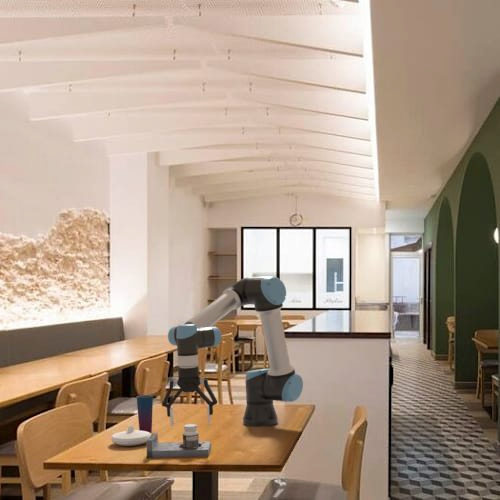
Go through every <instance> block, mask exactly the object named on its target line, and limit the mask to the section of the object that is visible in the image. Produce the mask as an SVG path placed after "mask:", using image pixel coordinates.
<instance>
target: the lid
mask: <svg viewBox="0 0 500 500" xmlns="http://www.w3.org/2000/svg"><path fill="white" fill-rule="evenodd" d="M151 434H152V433H149V432H147V431H140V430H138V429H135V425H132V424H131V425H128V427H127V430H124V431H120V432H116V433H113V434H112V435H111V437H110V440H111V442H112V443H114V444H116V445H118V446H123V447H124V446H125V447H132V446H139V445H143V444H146V441H147V440H148V438H149V437H150V436H151Z"/></svg>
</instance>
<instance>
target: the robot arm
mask: <svg viewBox="0 0 500 500" xmlns="http://www.w3.org/2000/svg"><path fill="white" fill-rule="evenodd" d="M286 296H287V289H286V286H285V283H284V281H282V280H281V278H278V277H277V276H270V275H266V276H265V275H263V276H249V277H244V278H241V279H239V280H238V281H236V282H235V283H232V284H231V285H230V286H228V287H227V288H225V289H224V290H223V291H222V293H221V295H220V296H218V297H217V298H216V299H215V300H213V301H212V302H211V303H210V304H208V305H207V306H206V307H205V308H203V309H202V310H200V311H199V312H198V313H196V314H195V315H193V317H191V318H190V319H189V320H187V321H186V322H185V323H182V324H179V325H176V326H173V327H171V328H170V329H169V330H168V333H167V339H168V341H169V343H170V344H171V346H176V349H177V367H178V368H177V373H178V374H177V376H178V380H173V379H171V380H170V381H169V387H168V390H167V392H166V394H165V396H164V399H163V401H162V403H161V406H162V407H164V408H166V414H167V417H169V419H170V421H169V422H170V427H174V424H175V423H174V406H172V405H173V404H174V402H175V401H176V400H177V399H178V397H179V396H180V395H181V394H182V392H183V393H185V394H186V393H187V394H188V393H195V392H196V393H197V395H199V397H201V399H203V401H204V402H205V403H206V404H207V405H206V406H207V407H206V411H207V412H206V414H207V416H206V417H207V425H208V426H210V425H211V416H213V414H214V408H213V407H214V406H215V405H217V404H218V400H217V397H216V396H215V394H214V393H213V390H212V388H211V387H210V385H209V381H208V380H209V379H207V378H204V379H200V373H199V372H200V371H199V349H205V348H213V347H217V346H218V345H220V344H221V342H222V332H221V330H220V328H218V327H217V326H214V325H215V324H216V323H218V322H219V321H220V320H222V318H224V317H226V316H227V315H228V314H229V313H230V312H232V311H233V310H238V309H239V308H241V307H243V306H247V305H254V309H255V312H256V313H258V314H259V315H260V316H259V318H260V322H261V327H262V332H263V339H264V342H265V348H266V353H267V358H268V364H269V368H262V369H254V370H249V371H247V372H246V374H245V381H244V382H245V397H246V399H245V400H246V401H245V402H246V407H245V410H244V412H243V416H242V424H243V425H245V426H249V427H250V426H251V427H267V426H273V425H276V424H278V423H279V417H278V414H277V411H276V408H275V405H274V401H276V402H277V401H278V402H284V403H293V402H295V401H297V400H299V398H300V397H301V395H302V394H301V393H302V392H303V389H304V388H303V387H304V380H303V378H302V376H301V375H300V374H298V373H296V370H295V367H294V366H293V365H292V364H291V363H290V357H289V352H288V348H287V347H288V346H287V341H286V336H285V331H284V324H283V319H282V314H281V309H282V308H283V306H284V305H283V303H284V302H285V300H286ZM200 384H201V385H202V386H203V387H204V388H205V390H206V392H207V394H208V395H209V397H210V398H209V397H208V396H207V395H206V394H205V393H204V392H203V390H202V389H201V388H200V387H199V386H200ZM176 385H177V386H178V387H179V389H178V390H177V392H176V393H175V394H174V395H173V397H172V398H171V400H170V401H169V402H168V400H169V398H170V396H171V393H172V391H173V389H174V387H176Z"/></svg>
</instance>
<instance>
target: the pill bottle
mask: <svg viewBox="0 0 500 500" xmlns="http://www.w3.org/2000/svg"><path fill="white" fill-rule="evenodd" d="M183 429H184V431H183V432H182V442H183V449H184V448H199V442H200V440H199V438H200V437H199V435H200V434H199V431H198V430H197V429H198V425H197V424H194V423H191V424H190V423H189V424H184V425H183Z"/></svg>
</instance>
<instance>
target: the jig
mask: <svg viewBox="0 0 500 500" xmlns="http://www.w3.org/2000/svg"><path fill="white" fill-rule="evenodd" d="M150 434H151V436H150V437H149V438H148V440H147V441H146V442H145V444H146V459H165V458H169V459H170V458H172V457H173V458H201V457H203V458H204V457H205V458H206V457H209V455H210V453H211V449H212V441H210V440H207V441H206V440H204V441H199V448H184V449H183V441H176V442H173V441H171V442H159V437H158V436H159V435H158V432H156V433H152V432H151V433H150Z"/></svg>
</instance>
